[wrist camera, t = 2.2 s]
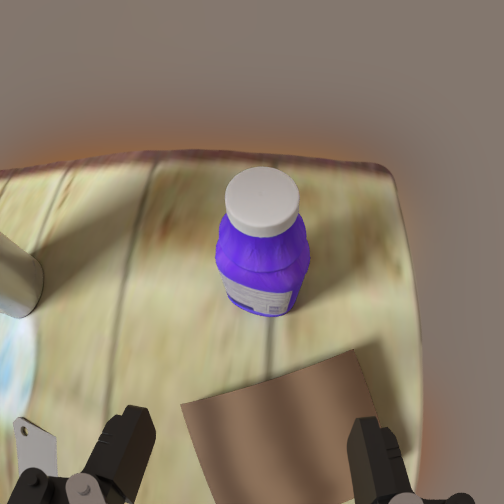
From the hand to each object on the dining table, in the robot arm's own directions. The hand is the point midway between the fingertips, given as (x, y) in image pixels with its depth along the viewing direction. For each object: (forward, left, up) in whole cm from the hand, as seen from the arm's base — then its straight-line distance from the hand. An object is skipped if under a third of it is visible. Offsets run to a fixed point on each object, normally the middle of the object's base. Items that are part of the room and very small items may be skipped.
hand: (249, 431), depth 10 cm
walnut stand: (+1, -5, -19) cm, 19 cm away
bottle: (+4, +11, -19) cm, 22 cm away
